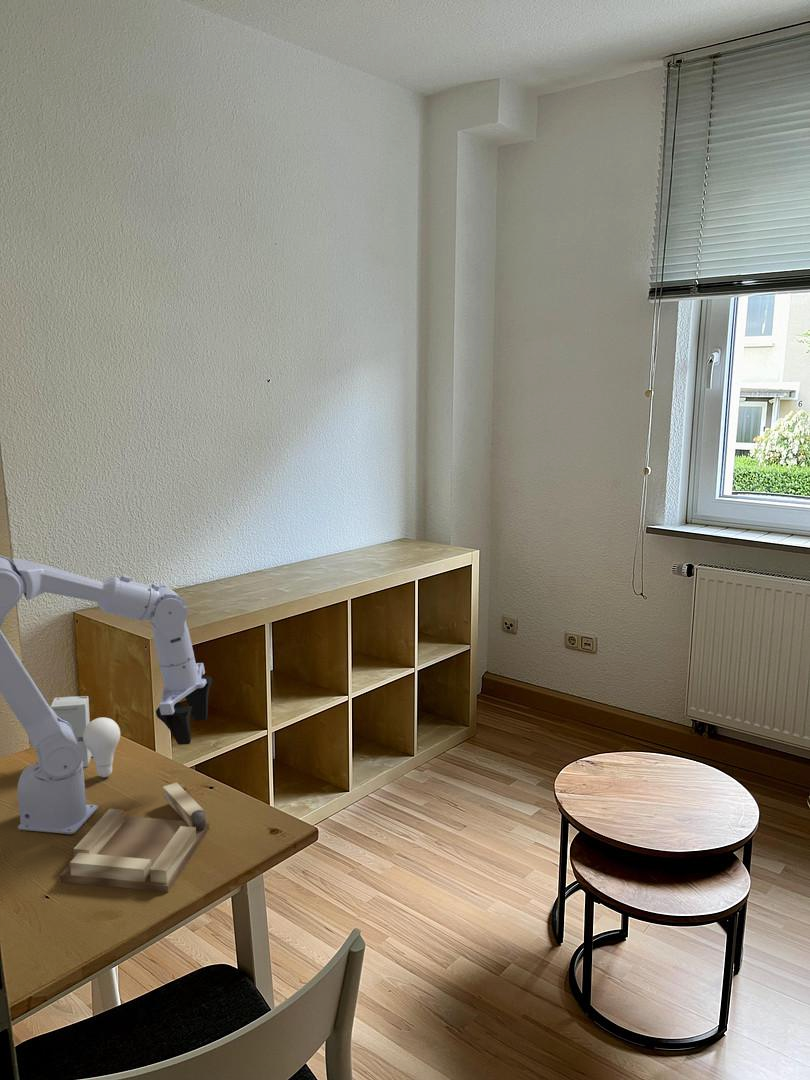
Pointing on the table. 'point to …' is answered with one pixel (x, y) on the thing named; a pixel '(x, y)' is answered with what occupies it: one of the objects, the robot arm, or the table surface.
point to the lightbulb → (102, 743)
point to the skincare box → (75, 719)
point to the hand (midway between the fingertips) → (192, 731)
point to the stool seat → (133, 852)
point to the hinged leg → (185, 805)
